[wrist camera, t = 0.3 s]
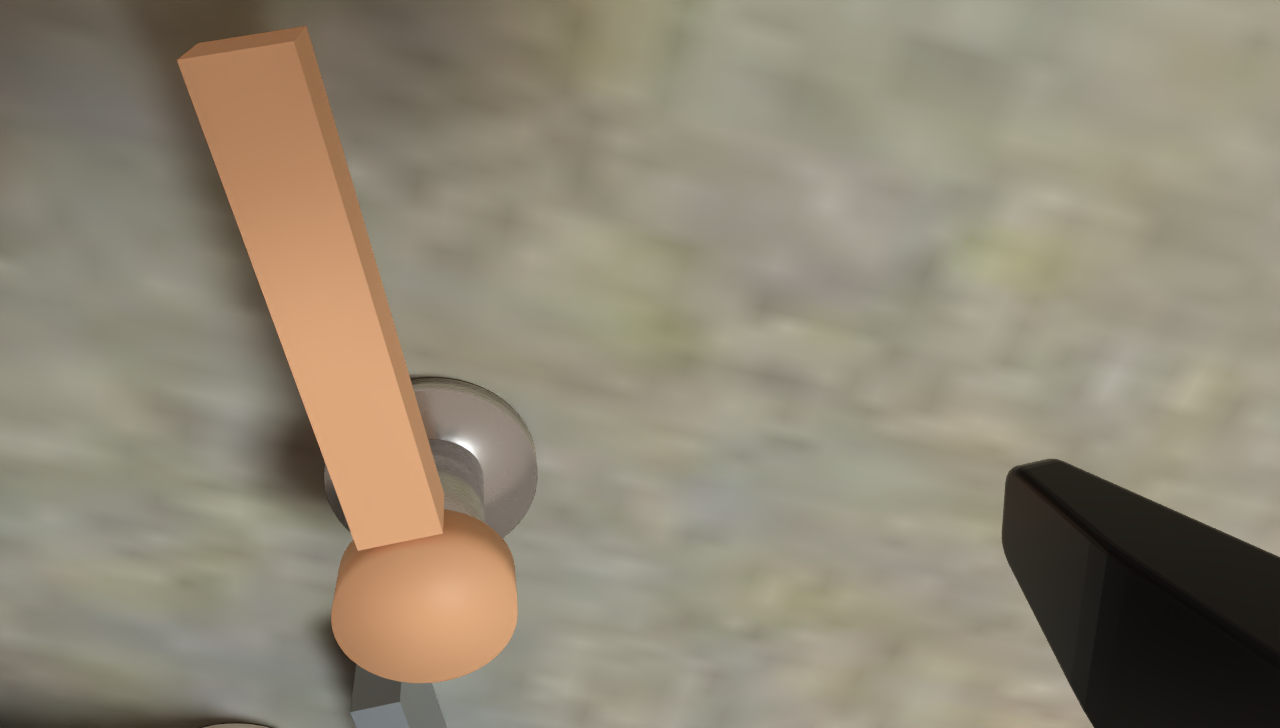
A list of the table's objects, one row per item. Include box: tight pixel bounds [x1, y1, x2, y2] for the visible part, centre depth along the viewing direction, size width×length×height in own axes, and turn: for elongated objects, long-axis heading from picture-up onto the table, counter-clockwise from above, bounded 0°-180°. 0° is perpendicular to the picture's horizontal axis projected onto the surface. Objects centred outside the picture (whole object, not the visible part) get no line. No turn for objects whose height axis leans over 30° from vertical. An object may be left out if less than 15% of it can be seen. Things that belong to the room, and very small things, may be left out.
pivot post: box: [324, 378, 537, 538], centre depth 21 cm, size 5×5×4 cm
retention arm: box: [177, 26, 518, 683], centre depth 17 cm, size 13×4×1 cm, turn 7°
